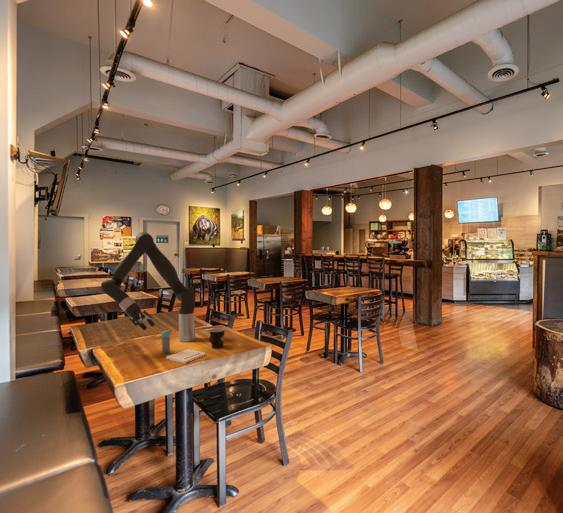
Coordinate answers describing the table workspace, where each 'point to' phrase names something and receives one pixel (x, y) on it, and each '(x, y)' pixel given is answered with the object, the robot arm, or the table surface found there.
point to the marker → (165, 342)
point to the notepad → (185, 356)
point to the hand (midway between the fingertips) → (149, 327)
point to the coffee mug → (217, 338)
